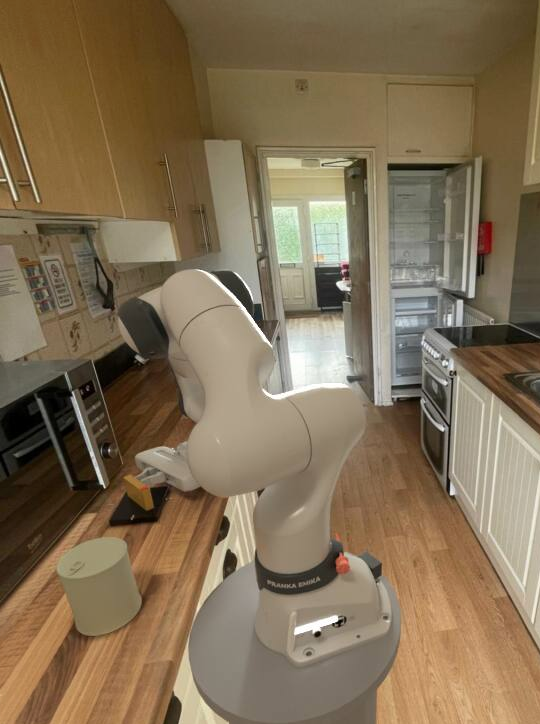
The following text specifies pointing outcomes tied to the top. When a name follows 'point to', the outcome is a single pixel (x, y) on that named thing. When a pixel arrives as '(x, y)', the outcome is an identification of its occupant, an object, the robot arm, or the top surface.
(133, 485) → the lock turn
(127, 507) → the lock plate
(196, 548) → the top surface
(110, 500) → the top surface
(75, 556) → the can
